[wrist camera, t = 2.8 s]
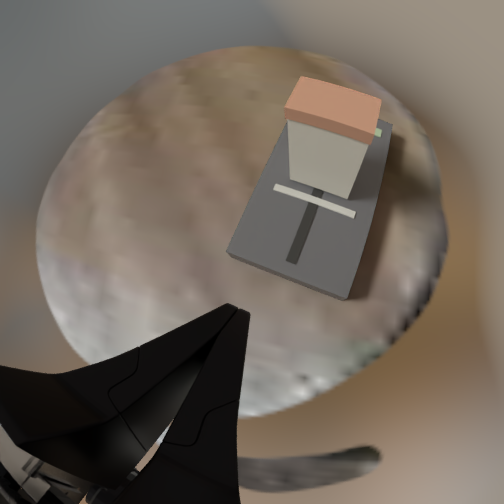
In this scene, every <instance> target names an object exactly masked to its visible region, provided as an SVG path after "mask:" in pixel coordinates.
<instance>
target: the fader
mask: <svg viewBox="0 0 504 504" xmlns="http://www.w3.org/2000/svg"><path fill="white" fill-rule="evenodd" d="M381 101H382V100H381V99H378V98H376V97H373V96H370V95H367V94H364V93H361V92H358V91H355V90H352V89H349V88H345V87H342V86H338V85H335V84H331V83H328V82H324V81H320V80H316V79H312V78H307V77H303V76H301V77H300V79H299V81H298V83H297V84H296V86H295V88H294V90H293V92H292V94H291V96H290V98H289V99H288V101H287V103H286V105H285V107H284V110H285V119H287V122H288V142H289V167H290V179H291V180H294V181H297V182H300V183H303V184H306V185H309V186H312V187H315V188H317V189H320V190H323V191H326V192H329V193H332V194H334V195H337V196H340V197H342V198H345V199H348V196H349V194H350V191H351V189H352V186H353V184H354V181H355V179H356V176H357V174H358V171H359V169H360V166H361V164H362V161H363V159H364V156H365V153H366V151H367V148H368V145H371V143H372V140H373V137H374V135H375V130H376V126H377V121H378V116H379V111H380V106H381Z"/></svg>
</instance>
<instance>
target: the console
mask: <svg viewBox="0 0 504 504" xmlns="http://www.w3.org/2000/svg"><path fill="white" fill-rule="evenodd" d="M392 126H393V124H390V123H388V122H385V121H382V120H380V119H378V121H377V126H376V130H375V135H374V137H373V140H372V143H371V145H368V148H367V151H366V153H365V156H364V159H363V161H362V164H361V166H360V169H359V171H358V174H357V176H356V179H355V181H354V184H353V186H352V189H351V191H350V194H349V196H348V199H345V198H342V197H340V196H337V195H334V194H332V193H329V192H326V191H323V190H320V189H317V188H315V187H312V186H309V185H306V184H303V183H300V182H297V181H294V180H291V179H290V167H289V142H288V122H287V123H286V125H285V127H284V129H283V131H282V133H281V135H280V137H279V139H278V141H277V143H276V145H275V147H274V149H273V151H272V154H271V156H270V158H269V160H268V162H267V164H266V166H265V168H264V170H263V172H262V174H261V177H260V179H259V181H258V183H257V185H256V187H255V189H254V191H253V194H252V196H251V198H250V200H249V202H248V204H247V206H246V209H245V211H244V213H243V215H242V217H241V219H240V222H239V224H238V226H237V228H236V230H235V233H234V235H233V237H232V239H231V241H230V244H229V246H228V248H227V250H226V252H227V253H228V254H229V255H230V256H231V257H232V258H235V259H237V260H240V261H242V262H245V263H247V264H250V265H252V266H255V267H257V268H260V269H262V270H265V271H267V272H270V273H272V274H275V275H277V276H280V277H282V278H285V279H287V280H290V281H293V282H295V283H298V284H300V285H303V286H305V287H308V288H310V289H313V290H316V291H318V292H321V293H323V294H326V295H328V296H331V297H334V298H336V299H339V300H341V301H343V300H345V299H347V297H348V294H349V291H350V289H351V286H352V283H353V280H354V277H355V274H356V271H357V268H358V265H359V262H360V259H361V256H362V253H363V249H364V246H365V243H366V239H367V236H368V232H369V229H370V225H371V222H372V218H373V214H374V211H375V207H376V203H377V199H378V195H379V191H380V186H381V182H382V178H383V173H384V169H385V164H386V159H387V154H388V149H389V143H390V138H391V132H392Z"/></svg>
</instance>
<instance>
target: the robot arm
mask: <svg viewBox="0 0 504 504" xmlns="http://www.w3.org/2000/svg"><path fill="white" fill-rule="evenodd" d="M249 322H250V313H249V312H247V311H245V310H243V309H238V307H236V306H234V305H231V304H229V303H226V304H224V305H222V306H220V307H218V308H216V309H214V310H212V311H210V312H208V313H206V314H204V315H202V316H200V317H198V318H196V319H194V320H192V321H190V322H188V323H186V324H184V325H182V326H180V327H178V328H176V329H174V330H172V331H170V332H168V333H166V334H164V335H162V336H160V337H157V338H155V339H153V340H151V341H149V342H147V343H145V344H143V345H141V346H140V347H136V348H134V349H132V350H130V351H127V352H125V353H123V354H120V355H118V356H116V357H113V358H110V359H107V360H105V361H102V362H99V363H95V364H92V365H89V366H86V367H82V368H79V369H76V370H72V371H69V372H65V373H59V374H47V373H39V372H33V371H27V370H21V369H16V368H11V367H6V366H1V365H0V504H79V503H80V501H81V500H82V499H83V498H84V496H85V495H86V494H87V495H86V502H87V503H88V504H241V503H240V496H239V486H238V464H237V420H238V410H239V400H240V393H241V386H242V378H243V370H244V362H245V354H246V346H247V338H248V330H249ZM173 419H174V420H173ZM172 420H173V422H172V424H171V426H170V427H169V429H168V431H167V433H166V435H165V437H164V439H163V442H162V443H161V444H160V446H159V448H158V449H157V451H156V453H155V454H154V456H153V457H152V458H151V460H150V461H149V462H148V463H147V464H146V466H145V467H144V468H143V469H142V470H141V471H140V472H139V471H138V470H136V468H135V466H136V465H137V464H138V463H139V461H140V460H141V459H142V458H143V457H144V456H145V454H146V453H147V452H148V450H149V449H150V448H151V447H152V446H153V444H154V443H155V442H156V441H157V439H158V438H159V437H160V435H161V434H162V433H163V432H164V430H165V429H166V428H167V427H168V425H169V424H170V422H171V421H172ZM21 488H22V489H21ZM87 492H88V493H87Z"/></svg>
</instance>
